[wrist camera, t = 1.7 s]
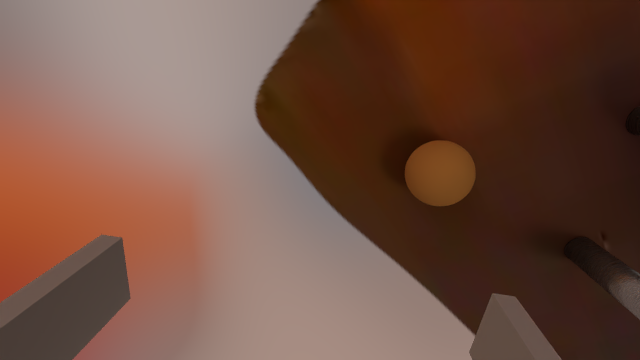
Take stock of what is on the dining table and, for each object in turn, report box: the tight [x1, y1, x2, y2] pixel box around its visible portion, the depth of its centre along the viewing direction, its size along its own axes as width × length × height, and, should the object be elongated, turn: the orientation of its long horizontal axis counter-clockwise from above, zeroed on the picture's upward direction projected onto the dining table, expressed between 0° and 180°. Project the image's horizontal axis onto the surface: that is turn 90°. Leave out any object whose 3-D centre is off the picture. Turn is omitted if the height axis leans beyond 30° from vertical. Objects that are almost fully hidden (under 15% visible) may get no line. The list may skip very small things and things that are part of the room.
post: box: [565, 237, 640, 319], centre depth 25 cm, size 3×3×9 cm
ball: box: [405, 140, 476, 206], centre depth 25 cm, size 6×6×6 cm
